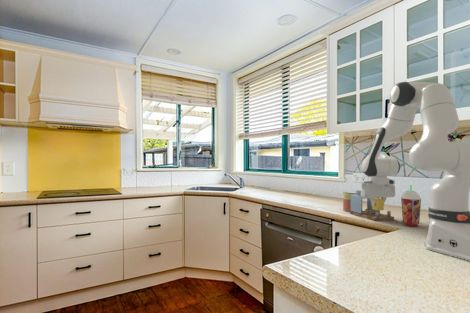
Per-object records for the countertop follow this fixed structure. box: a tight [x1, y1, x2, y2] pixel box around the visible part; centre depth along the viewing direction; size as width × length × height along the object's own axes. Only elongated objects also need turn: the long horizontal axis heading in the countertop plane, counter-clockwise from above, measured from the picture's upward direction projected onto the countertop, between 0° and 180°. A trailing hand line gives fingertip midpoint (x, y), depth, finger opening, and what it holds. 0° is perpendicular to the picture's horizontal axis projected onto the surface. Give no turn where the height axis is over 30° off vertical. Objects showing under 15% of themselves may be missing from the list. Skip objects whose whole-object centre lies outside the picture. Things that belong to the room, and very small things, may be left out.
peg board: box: [349, 208, 395, 222], centre depth 152 cm, size 19×13×4 cm
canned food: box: [342, 190, 356, 213], centre depth 169 cm, size 11×11×12 cm
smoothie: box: [400, 184, 422, 228], centre depth 132 cm, size 8×8×20 cm
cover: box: [351, 189, 377, 214], centre depth 157 cm, size 9×13×12 cm
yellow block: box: [372, 198, 385, 211], centre depth 147 cm, size 4×4×6 cm
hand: (377, 205), depth 147 cm, fingers closed on yellow block, 4 cm apart
